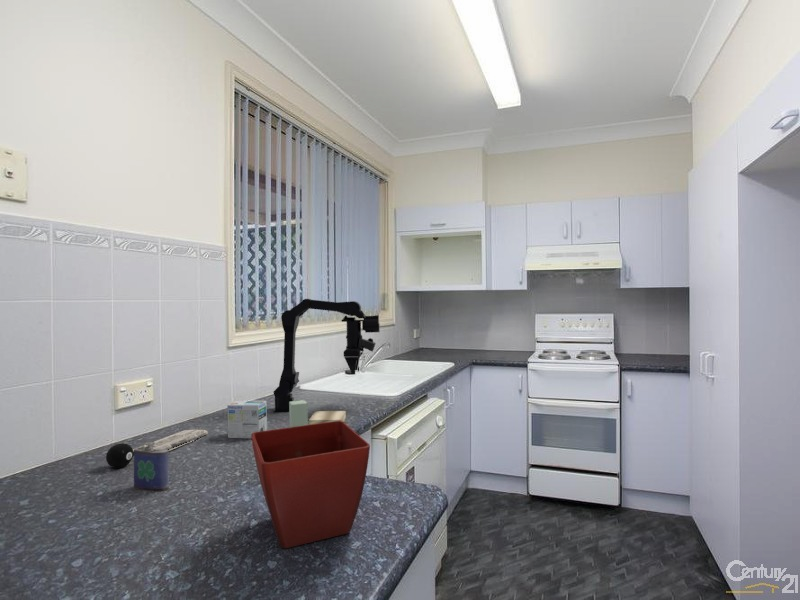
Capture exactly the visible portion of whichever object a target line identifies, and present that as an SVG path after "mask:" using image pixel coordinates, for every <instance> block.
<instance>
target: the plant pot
mask: <svg viewBox="0 0 800 600" xmlns="http://www.w3.org/2000/svg"><path fill="white" fill-rule="evenodd" d="M251 437H252V438H251V443H252V444H251V445H252V450H253V456H254V460H255V466H256V469H257V475H258V478H259V483H260V487H261V489H262V493H263V497H264V499H265V503H266V505H267V509H268V512H269V515H270V520H271V522H272V525H273V529H274V533H275V536H276V538H277V542H278V544H279V547H280V548H282V549H290V548H293V547H294V548H295V547H298V546H301V545H306V544H310V543H314V542H317V541H322V540H326V539H327V540H328V539H330V538H335V537H338V536H342V535H346V534H349V533H350V532H351V531H352V528H353V525H354V522H355V519H356V516H357V513H358V510H359V507H360V503H361V500H362V495H363V491H364V487H365V483H366V477H367V470H368V466H369V465H368V464H369V457H370V448H371V445H370V443H368V442H367V441H366V440H365V439H364V438H363V437H361V436H360V435H359V434H358V433H357V432H355V431H354V430H353V429H352V428H351V426H349V425H348V424H347V423H346V422H343V421H333V422H326V423H318V424H311V425H309V424H308V425H304V426H296V427H290V426H289V427H283V428H275V429H267V431H259V432H254V433H252V434H251Z"/></svg>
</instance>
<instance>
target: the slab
mask: <svg viewBox="0 0 800 600" xmlns="http://www.w3.org/2000/svg"><path fill="white" fill-rule="evenodd" d="M345 419H346V420H347V411H346V410H323V411H322V410H319V411H318V410H317V411H316V410H315V411H314V413H313V414H312V415H311V417H310V418H309V419H308V425H311V424H318V423H326V422H333V421H343V422H344V423H346V420H345Z"/></svg>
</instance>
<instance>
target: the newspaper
mask: <svg viewBox="0 0 800 600" xmlns="http://www.w3.org/2000/svg"><path fill="white" fill-rule="evenodd" d="M208 434H209V431H207V430H205V429H184V430H182V431H179V432H175V433H174V434H171V435H168V436H165V437H162V438H160V439H157V440H155V441H153V442H155V444H154V445H153V446H154V447H153V449H167V450H168V449H169V450H168V452H170V451H172V450H174V449H177V448H179V447H181V446H184V445H186V444H190V443H191V442H192V441H193V442H195V441H194V440H192V439H195V438H200V437H204V436H206V435H208ZM190 440H192V441H190ZM188 441H190V442H188ZM185 442H187V443H185ZM183 443H184V444H183ZM181 444H182V445H181ZM178 445H179V446H178ZM142 446H144V447H147V445H145V444H144V445H141V446H138V447H137V448H139V447H142ZM176 446H177V447H176ZM173 447H174V448H173ZM132 449H133V453H134V449H135V448H132Z"/></svg>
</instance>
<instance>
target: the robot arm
mask: <svg viewBox="0 0 800 600" xmlns="http://www.w3.org/2000/svg"><path fill="white" fill-rule="evenodd" d="M309 309H311V310H318V311H319V310H320V311H329V312H337V313H340V314H343V315H344V316H343V318H342V319H341V320H340V321H341V322H344V323H345V322H346V335H345V339H346V346H345V347H346V348H345V350H344V351H343V358H344V359H345V362H346V364H347V366H348V369H349V371H350V372H351V375H355V374H356V371H357V370H358V367H359V363H360V359H361V356H362V355H363V354H364V351H365V349H366V350H368V351H369V352H373V351H374V350H375V346H376V344H377V343H376V342H374V339H373V338H371V337H369V338H368V339H366V338H363V335H362V331H365V332H364V333H365V334H367V333H380V330H381V328H380V327H381V325H380V324H381V323H380V316H379V315H378V314H377V315H366V314H365V313H364V312H363V310H362V306H361V304H360V303H359V302H358V301H356V300H355V301H354V300H353V301H352V300H351V301H342V302H341V301H340V302H339V301H327V300H319V299H311V298H304V299H303V300H301V302H299V303H297V304H296V305H295V306H294V307H292V308H290V309H288V310H285V311H283V313H282V314H281V318H280V319H281V325H282V329H283V332H284V340H283V341H284V342H283V344H284V345H283V369H282V370H281V371H282V372H281V375H280V378H279V382H278V386H277V388H275V389H274V390H273V391H272V392H273V396H274V410H273V412H274V413H277V412H278V413H281V412H282V413H284V412H285V413H286V412H289V402H291V401H295V400H294V399H295V397H293V393H292V392H293V391H294V389H295V388H296V387H297V385H298V383H299V382H300V379H299V377H300V371H296V367H295V363H296V362H295V361H296V360H295V359H296V358H295V357H296V332H297V329H298V326H299V324H300V323H299V322H300V318H301V317H302V316H303V315H304V314H305V313H306V312H308V310H309ZM349 316H350V317H349ZM357 318H358V319H357Z"/></svg>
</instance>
